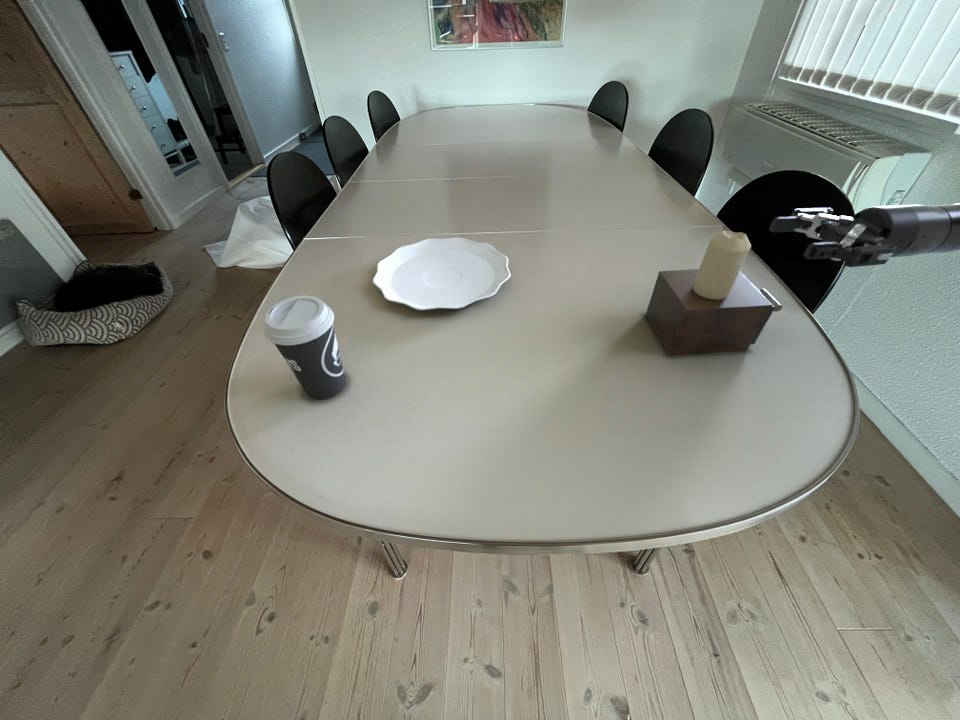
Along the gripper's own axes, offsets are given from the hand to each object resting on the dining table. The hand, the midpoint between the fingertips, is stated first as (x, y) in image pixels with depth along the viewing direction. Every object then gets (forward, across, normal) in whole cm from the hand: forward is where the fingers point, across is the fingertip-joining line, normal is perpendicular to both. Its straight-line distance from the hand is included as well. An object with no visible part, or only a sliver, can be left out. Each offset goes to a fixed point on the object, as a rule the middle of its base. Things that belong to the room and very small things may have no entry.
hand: (789, 237), depth 61 cm
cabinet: (+8, -1, +18) cm, 20 cm away
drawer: (+4, -1, +18) cm, 18 cm away
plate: (+54, -24, +19) cm, 62 cm away
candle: (+9, 0, +9) cm, 13 cm away
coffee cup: (+73, +7, +19) cm, 75 cm away
